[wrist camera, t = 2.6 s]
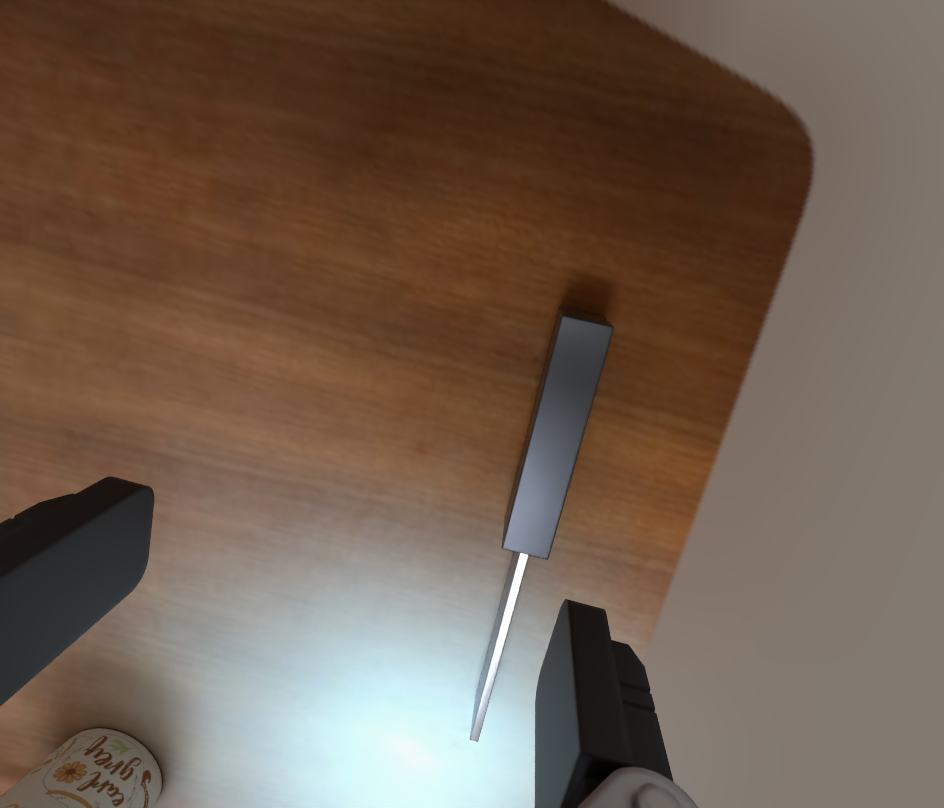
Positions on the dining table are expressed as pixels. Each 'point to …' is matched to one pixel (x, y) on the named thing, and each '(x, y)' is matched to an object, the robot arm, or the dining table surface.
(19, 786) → the mug
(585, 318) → the screwdriver
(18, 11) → the dining table surface
